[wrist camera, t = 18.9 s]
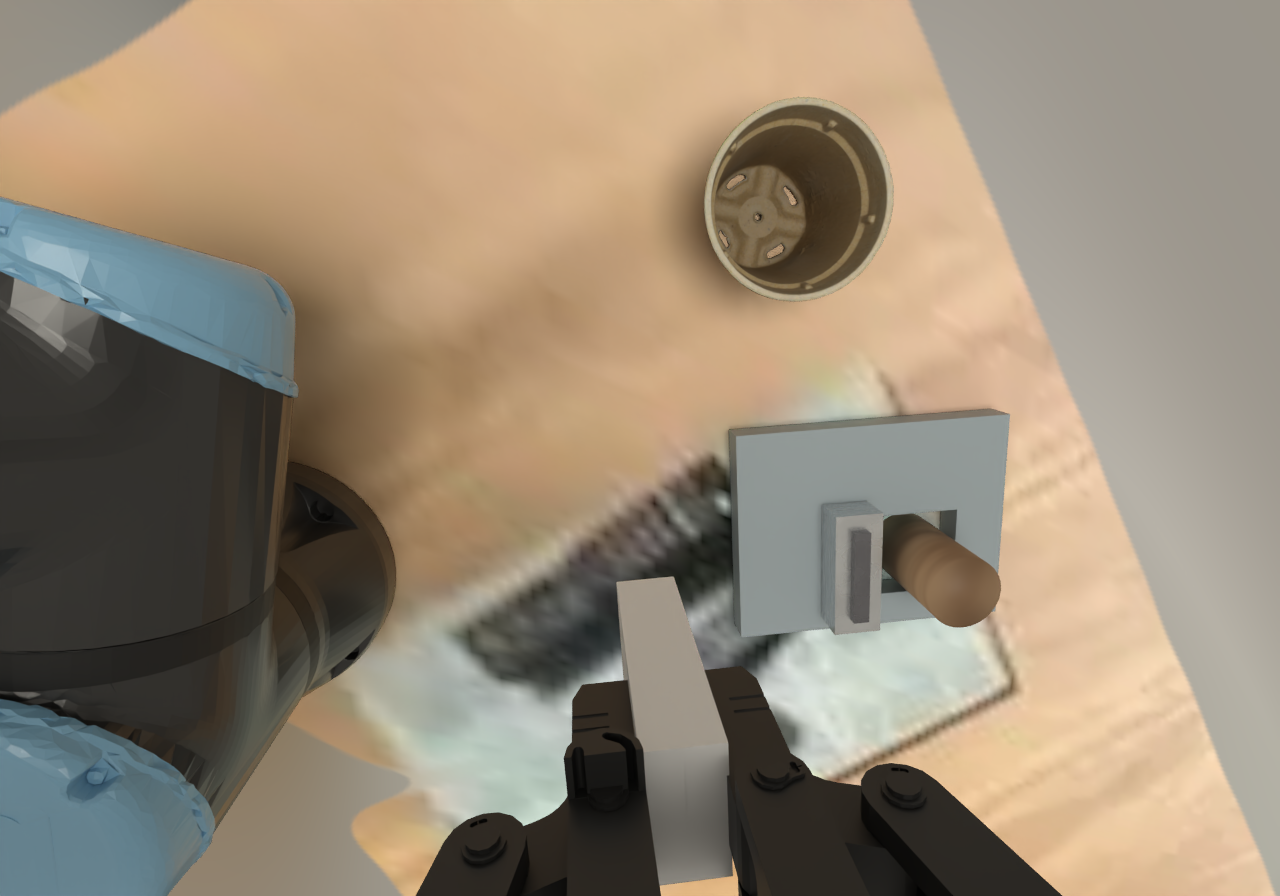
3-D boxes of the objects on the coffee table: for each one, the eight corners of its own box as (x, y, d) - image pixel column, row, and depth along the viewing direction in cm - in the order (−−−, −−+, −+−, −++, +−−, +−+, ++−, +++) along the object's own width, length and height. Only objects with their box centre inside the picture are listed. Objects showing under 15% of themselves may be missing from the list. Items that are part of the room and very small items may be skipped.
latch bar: (821, 616, 46) (838, 639, 43) (821, 504, 44) (839, 520, 41) (864, 611, 46) (884, 634, 43) (866, 500, 44) (887, 516, 41)
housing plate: (734, 622, 47) (741, 637, 45) (728, 429, 44) (736, 436, 42) (978, 598, 49) (995, 611, 47) (991, 408, 45) (1009, 414, 43)
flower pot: (771, 327, 43) (819, 338, 34) (649, 242, 41) (667, 231, 32) (859, 197, 41) (931, 175, 33) (736, 102, 39) (779, 53, 31)
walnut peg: (870, 574, 47) (927, 631, 40) (871, 515, 46) (930, 562, 39) (930, 568, 48) (998, 623, 40) (932, 509, 47) (1003, 554, 39)
